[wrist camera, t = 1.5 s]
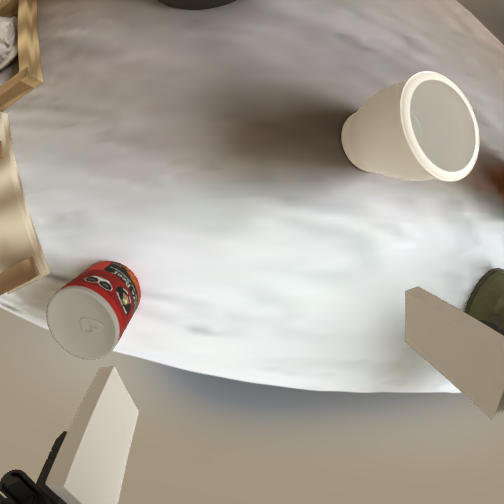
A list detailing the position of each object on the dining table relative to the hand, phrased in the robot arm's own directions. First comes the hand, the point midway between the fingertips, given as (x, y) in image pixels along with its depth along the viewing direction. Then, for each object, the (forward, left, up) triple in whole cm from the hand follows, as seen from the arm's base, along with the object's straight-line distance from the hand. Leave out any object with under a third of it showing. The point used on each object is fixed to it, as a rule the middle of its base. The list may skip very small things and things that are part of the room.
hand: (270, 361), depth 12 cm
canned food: (0, -16, -25) cm, 29 cm away
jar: (-7, +21, -25) cm, 33 cm away
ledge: (-17, -28, -24) cm, 41 cm away
